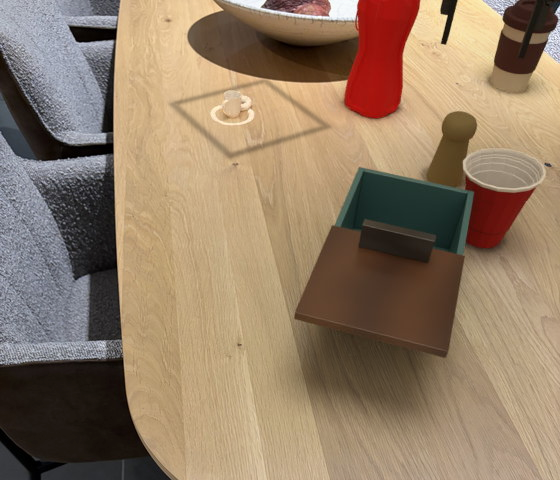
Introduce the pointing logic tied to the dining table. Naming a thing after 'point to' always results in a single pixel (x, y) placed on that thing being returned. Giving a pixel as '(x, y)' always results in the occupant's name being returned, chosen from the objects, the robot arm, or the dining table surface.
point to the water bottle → (380, 56)
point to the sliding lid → (385, 287)
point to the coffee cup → (507, 65)
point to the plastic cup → (498, 191)
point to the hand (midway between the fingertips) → (482, 47)
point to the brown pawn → (452, 149)
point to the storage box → (409, 207)
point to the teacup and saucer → (234, 107)
